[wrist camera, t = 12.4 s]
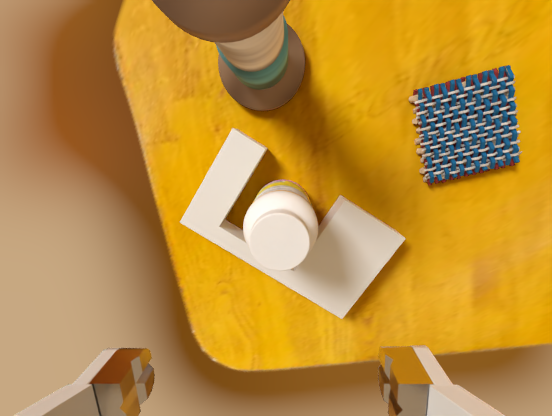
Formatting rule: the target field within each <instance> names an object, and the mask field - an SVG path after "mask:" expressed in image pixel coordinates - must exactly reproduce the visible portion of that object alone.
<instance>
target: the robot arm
mask: <svg viewBox="0 0 552 416" xmlns="http://www.w3.org/2000/svg"><path fill="white" fill-rule="evenodd" d="M151 358H152V357H151V353H150V350H149V349H147V348H107V349H105V350H103V351H102V352H101V353H100V354H99V356H98V357H97V358H96V359H95V360H94V361H93V362H92V363H91V364H90V365H89V366H88V368H87V369H86V370H85V371H84V372H83V373H82V374H81V375H80V376H79V378H78V379H77V380H76V381H75V382H74V383H73V384H68V385H66V386H64V387H62V388H61V389H59V390H57V391H55V392H54V393H52V394H50V395H49V396H47V397H45V398H43V399H42V400H40V401H38V402H37V403H35V404H33V405H31V406H29V407H28V408H26V409H24V410H23V411H21V412H19V413H17V414H15V415H14V416H138V415H139V413H140V412H141V410H140V404H142V403H143V402H144V401H146V400H147V399H148V397H149V395H150V393H151V391H152V388H153V384H154V376H155V374H154V368H153V367H152V366H151V365H150V364H149V361H150V360H151ZM379 359H380V362H381V365H380V366H379V368H378V380H379V387H380V391H381V394H382V397H383V400H384V401H385V402H386V403H387V404H388V414H389V416H505V415H504V414H502V413H501V412H499V411H498V410H496V409H494V408H493V407H491V406H490V405H488V404H487V403H485V402H484V401H482V400H481V399H479V398H477V397H476V396H475V395H473V394H471V393H470V392H468V391H467V390H465V389H464V388H462V387H461V386H459V385H453V384H452V382H451V381H450V379H449V378H448V377H447V375H446V373H445V372H444V370H443V369H442V368H441V366H440V364H439V363H438V362H437V360H436V359H435V357H434V356H433V354H432V353H431V351H430V350H429V348H428V347H427V346H425V345H422V346H393V347H380V348H379Z"/></svg>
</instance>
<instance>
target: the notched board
mask: <svg viewBox="0 0 552 416" xmlns="http://www.w3.org/2000/svg"><path fill="white" fill-rule="evenodd" d="M267 149H268V148H266V147H265V146H263V145H262V144H260V143H258V142H257V141H255V140H254V139H252V138H251V137H249V136H248V135H246V134H244V133H243V132H241V131H240V130H238V129H234V128H233V129H232V130H231V132H230V134H229V136H228V137H227V139H226V141H225V143H224V145H223V146H222V148H221V150H220V152H219V153H218V155H217V157H216V159H215V161H214V162H213V164H212V166H211V168H210V169H209V171H208V173H207V175H206V177H205V178H204V180H203V182H202V184H201V185H200V187H199V189H198V191H197V193H196V194H195V196H194V198H193V200H192V201H191V203H190V205H189V207H188V209H187V210H186V212H185V214H184V216H183V217H182V219H181V221H180V223H182V224H183V225H185V226H187V227H188V228H190V229H192V230H193V231H195V232H197V233H198V234H200V235H202V236H203V237H205V238H207V239H208V240H210V241H212V242H213V243H215V244H217V245H219V246H220V247H222V248H224V249H225V250H227V251H229V252H230V253H232V254H234V255H235V256H237V257H239V258H240V259H242V260H244V261H245V262H247V263H249V264H250V265H252V266H254V267H255V268H257V269H259V270H260V271H262V272H264V273H266V274H267V275H269V276H271V277H272V278H274V279H276V280H277V281H279V282H281V283H282V284H284V285H286V286H287V287H289V288H291V289H292V290H294V291H296V292H297V293H299V294H301V295H302V296H304V297H306V298H308V299H309V300H311V301H313V302H314V303H316V304H318V305H319V306H321V307H323V308H324V309H326V310H328V311H329V312H331V313H333V314H334V315H336V316H338V317H339V318H341V319H342V318H343V317H344V316H345V315H346V313H347V312H348V311H349V310H350V308H351V307H352V306H353V305H354V303H355V302H356V301H357V299H358V298H359V297H360V296H361V294H362V293H363V292H364V291H365V289H366V288H367V287H368V286H369V284H370V283H371V282H372V280H373V279H374V278H375V277H376V275H377V274H378V273H379V272H380V270H381V269H382V268H383V267H384V265H385V264H386V263H387V262H388V260H389V259H390V258H391V256H392V255H393V254H394V253H395V251H396V250H397V249H398V248H399V246H400V245H401V244H402V243H403V241H404V240H405V239H406V238H405V237H403V236H402V235H401V234H400V233H399V232H397V231H396V230H395V229H393V228H392V227H390V226H388V225H387V224H385V223H384V222H382V221H381V220H379V219H377V218H376V217H374V216H373V215H371V214H370V213H368V212H367V211H365V210H363V209H362V208H360V207H359V206H357V205H356V204H354V203H352V202H351V201H349V200H348V199H346V198H345V197H343V196H341V195H340V196H339V197H338V199H337V200H336V202H335V203H334V205H333V206H332V207H331V209H330V210H329V212H328V213H327V215H326V216H325V217H324V219H323V220H322V222H321V223H320V225H319V226H318V235H317V239H316V242H315V244H314V246H313V248H312V249H311V250H310V252H309V253H308V254H307V256H306V258H305V259H304V260H303V262H301V263H300V264H299V265H298V266H296V267H295V268H292V269H290V270H286V271H274V270H270V269H267V268H265V267H263V266H262V265H260V264H259V263H258V262H257V261H256V260H255V259H254V257H253V255H252V254H251V251H250V249H249V247H248V245H247V243H246V241H245V238H244V234H243V230H242V229H240V228H238V227H237V226H235V225H234V224H232V223H230V222H229V221H227V220H225V219H226V217H227V215H228V214H229V212H230V211H231V209H232V207H233V206H234V204H235V202H236V201H237V199H238V197H239V196H240V194H241V192H242V191H243V189H244V187H245V186H246V184H247V182H248V181H249V179H250V177H251V176H252V174H253V172H254V171H255V169H256V167H257V166H258V164H259V163H260V161H261V159H262V158H263V156H264V154H265V153H266V151H267Z"/></svg>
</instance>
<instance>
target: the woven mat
mask: <svg viewBox="0 0 552 416" xmlns="http://www.w3.org/2000/svg"><path fill="white" fill-rule="evenodd" d="M498 69H499V73H498V70H497V69H496V68H495V69H492V70H489V71H484V72H482V73H479V74H478V78H477V74H475V75H469V76H466V78H465V77H462V78H461V79H456V80H451V81H448V82H446V83H441V84H436V85H433V86H430V89H431V91H429V88H428V87H425V88H423V89H422V88H421V89H418V90H417V89H416V90H414V93H413V96H411V97H409V102H410V103H413V102H414V103H415V105H416V108H415V109H413V113H414V114H415V113H416V115H418V116H416V118H415V119H413V120H412V122H413V124H419V125H420V127H419V128H417V129H416V133H419V134H421V135H419V137H421V138H418V139H414V140H415V145H417V144H420V145H421V148H418V149H417V154H418V155H419V154H422V158H420V160H421V163H422V162H424V163H425V167H423V168H421V169H420V170H419V171H420V173H422V174H424V173H426V175H425V177H423V182H428V185H432V183H433V182H434V180H435V183H439V181H441V182H442V183H444V182H446V179H449V177H450V180H454V178H456V177H457V179H460V178H461V176H463V175H464V176H469V174H472V175H475V174H476V172H479V173H484V171H489V170H490V169H493V168H494V169H499V167H501V168H505V166H506V165H510V166H513V165H515V163H518V162H520V161H519V158H518V157H519V154H521V153H522V152H518V151H519V149H520V147H518V145H517V144H516V143H519V142H520V141H519V140H517V137H518V135H519V134H518V133H521V132H520V131H516V129H515V128H518V127H519V125H517V126H516V124H517V122H518V120H517V119H516V118H515V116H516V114H515V113H517V112H518V110H516V111H515V109H516V106H517V104H515V102H514V101H513V100H516V97H514V93H515V87H513V85H512V84H514V83H515V81H513V79H514V78H515V75H514V74H513V72H512V71H511V68H510V66H509V65H508V66H502V67H500V68H498ZM465 79H466V81H465ZM445 84H446V87H445ZM482 88H483V89H482ZM508 91H509V92H508ZM513 97H514V98H513ZM471 101H472V102H471ZM423 102H424V103H423ZM459 104H460V105H459ZM509 105H510V106H509ZM440 109H441V110H440ZM476 112H477V113H476ZM424 113H425V114H424ZM465 113H466V114H465ZM449 117H450V118H449ZM434 121H435V123H434ZM454 128H455V129H454ZM435 130H436V131H435ZM495 139H496V140H495ZM516 140H517V141H516ZM428 141H429V142H428ZM429 144H430V146H429ZM510 146H511V147H510ZM460 147H461V148H460ZM449 150H450V151H449ZM430 151H431V153H430ZM430 155H431V156H430ZM454 158H455V159H454ZM489 161H490V162H489ZM439 162H440V163H439ZM432 164H433V165H432ZM489 168H490V169H489ZM432 170H433V171H432ZM426 176H427V177H426Z"/></svg>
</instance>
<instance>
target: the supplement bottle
mask: <svg viewBox="0 0 552 416" xmlns="http://www.w3.org/2000/svg"><path fill="white" fill-rule="evenodd" d="M243 234H244V238H245V241H246V243H247V245H248V247H249V249H250V251H251V254H252V255H253V257H254V259H255V260H256V261H257V262H258V263H259V264H260V265H262V266H263V267H265V268H267V269H270V270H274V271H286V270H290V269H292V268H295V267H296V266H298V265H299V264H300V263H301V262H303V260H304V259H305V258H306V256H307V254H308V253H309V252H310V250H311V249H312V248H313V246H314V244H315V242H316V239H317V235H318V221H317V217H316V214H315V212H314V209H313V207H312V204H311V202H310V199H309V197H308V195H307V193H306V192H305V190H304V189H303V188H302V187H301V186H300V185H298V184H297V183H295V182H292V181H289V180H276V181H273V182H270V183H268V184H267V185H265V186H264V187H263V188H262V189H261V190H260V191H259V193H258V194H257V196H256V198H255V199H254V201H253V203H252V204H251V206H250V207H249V209H248V211H247V213H246V215H245V218H244V223H243Z"/></svg>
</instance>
